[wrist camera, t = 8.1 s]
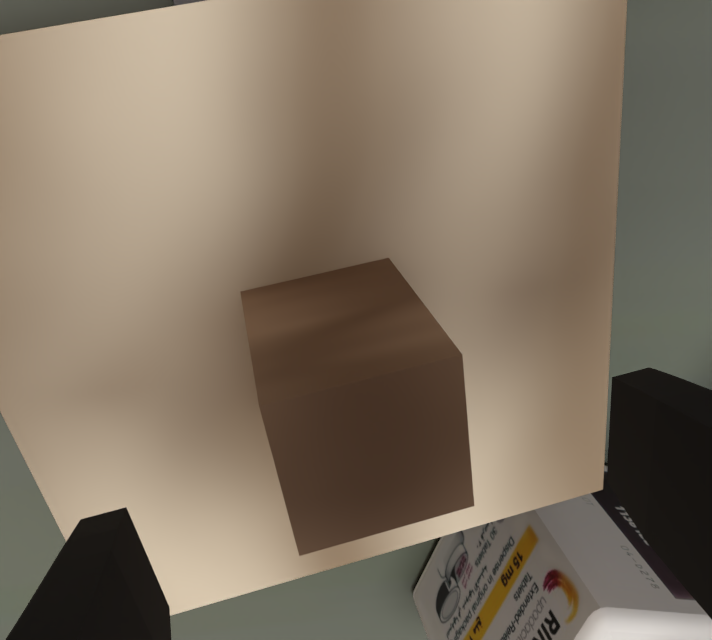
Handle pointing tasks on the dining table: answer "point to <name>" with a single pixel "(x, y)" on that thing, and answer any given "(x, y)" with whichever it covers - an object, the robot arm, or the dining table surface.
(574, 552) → the container
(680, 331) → the dining table surface
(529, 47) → the lid
